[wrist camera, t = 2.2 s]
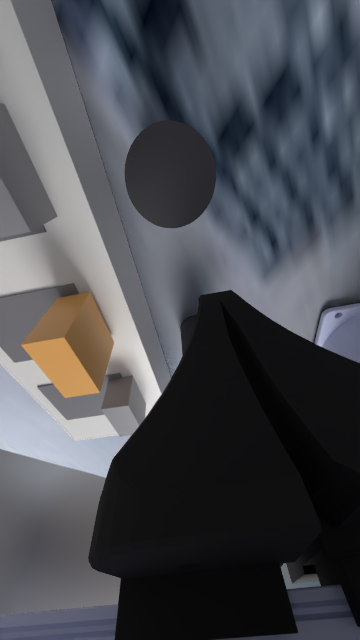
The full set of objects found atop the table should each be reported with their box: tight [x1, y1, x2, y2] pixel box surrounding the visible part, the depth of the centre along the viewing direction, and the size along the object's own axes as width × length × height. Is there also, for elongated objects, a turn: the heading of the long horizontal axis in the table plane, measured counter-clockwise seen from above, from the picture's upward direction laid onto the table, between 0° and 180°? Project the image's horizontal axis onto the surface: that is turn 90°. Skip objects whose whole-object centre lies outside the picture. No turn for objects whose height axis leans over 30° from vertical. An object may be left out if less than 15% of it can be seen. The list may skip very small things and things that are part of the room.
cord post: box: [125, 121, 216, 228], centre depth 8 cm, size 2×2×6 cm
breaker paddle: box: [21, 292, 114, 398], centre depth 9 cm, size 2×3×3 cm, turn 10°
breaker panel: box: [0, 0, 171, 441], centre depth 12 cm, size 8×22×6 cm, turn 10°
